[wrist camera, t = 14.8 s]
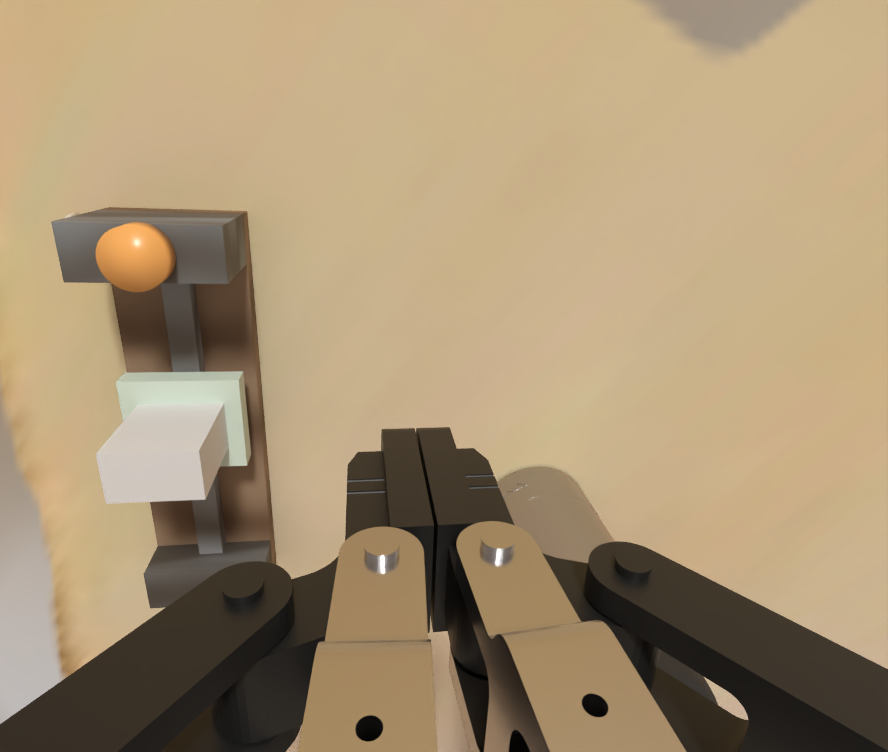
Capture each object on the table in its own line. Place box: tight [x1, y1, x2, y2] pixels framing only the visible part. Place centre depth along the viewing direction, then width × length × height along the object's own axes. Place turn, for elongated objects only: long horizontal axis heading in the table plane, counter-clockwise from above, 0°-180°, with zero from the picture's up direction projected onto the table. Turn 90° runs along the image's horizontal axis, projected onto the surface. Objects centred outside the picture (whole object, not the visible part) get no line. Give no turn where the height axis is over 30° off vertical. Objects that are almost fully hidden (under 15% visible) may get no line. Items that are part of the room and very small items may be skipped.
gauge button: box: [96, 222, 176, 292], centre depth 28 cm, size 3×3×2 cm
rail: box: [51, 207, 276, 608], centre depth 36 cm, size 27×8×7 cm, turn 178°
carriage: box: [96, 371, 251, 504], centre depth 33 cm, size 6×7×8 cm
